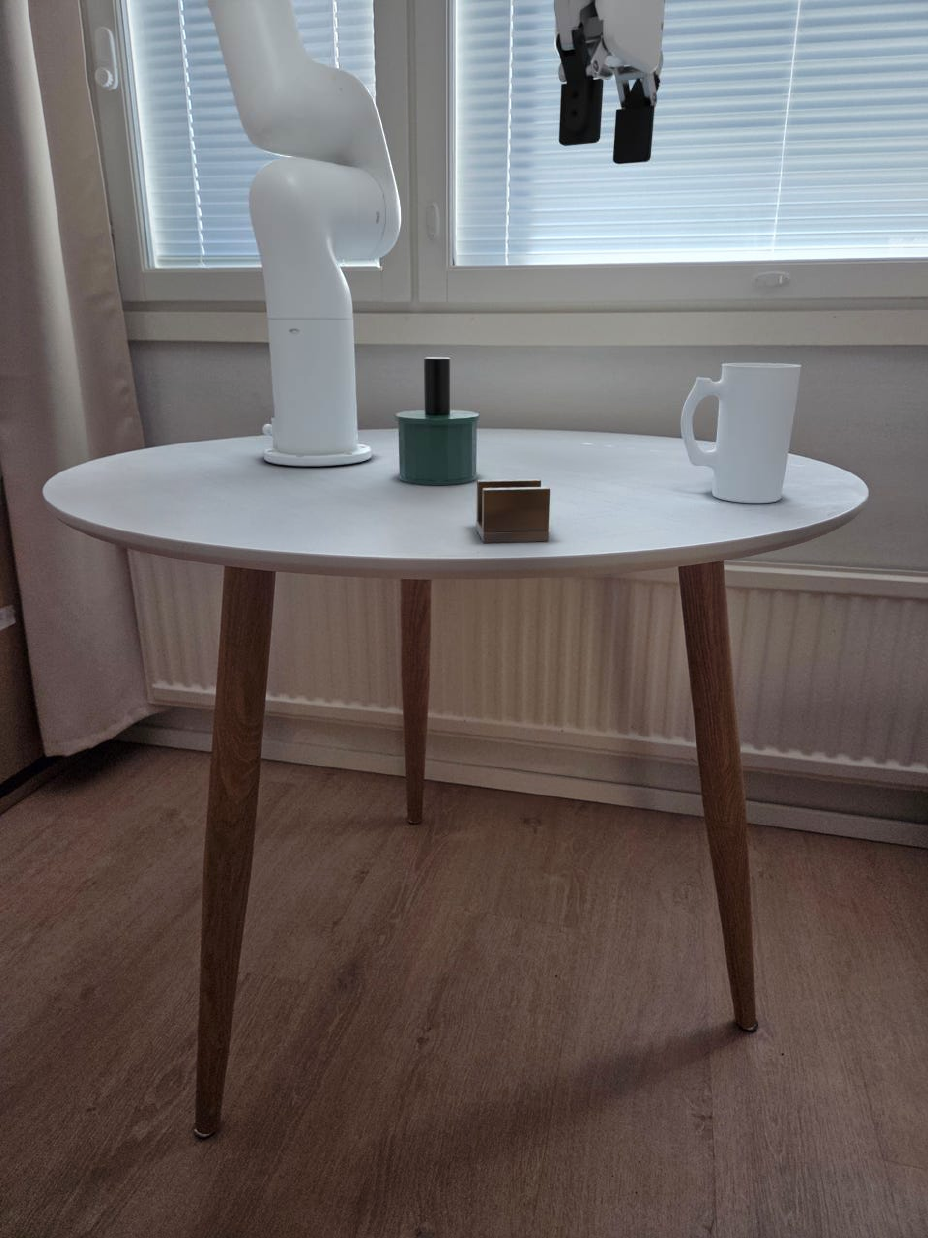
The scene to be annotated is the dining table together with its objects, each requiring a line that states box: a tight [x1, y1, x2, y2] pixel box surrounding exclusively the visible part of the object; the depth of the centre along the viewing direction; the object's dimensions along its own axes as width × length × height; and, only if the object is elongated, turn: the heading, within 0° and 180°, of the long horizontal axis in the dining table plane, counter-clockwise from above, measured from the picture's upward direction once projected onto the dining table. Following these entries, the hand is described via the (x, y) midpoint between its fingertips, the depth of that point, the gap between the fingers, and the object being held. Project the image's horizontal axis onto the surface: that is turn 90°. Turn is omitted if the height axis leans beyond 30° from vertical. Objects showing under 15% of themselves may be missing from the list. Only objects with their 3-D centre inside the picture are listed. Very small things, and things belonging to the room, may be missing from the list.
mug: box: [680, 362, 802, 504], centre depth 78 cm, size 10×7×12 cm, turn 84°
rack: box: [475, 478, 551, 544], centre depth 65 cm, size 5×4×4 cm
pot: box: [397, 421, 478, 486], centre depth 88 cm, size 8×8×6 cm
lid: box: [395, 356, 480, 425], centre depth 86 cm, size 9×9×7 cm
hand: (606, 153), depth 67 cm, fingers open, 9 cm apart
